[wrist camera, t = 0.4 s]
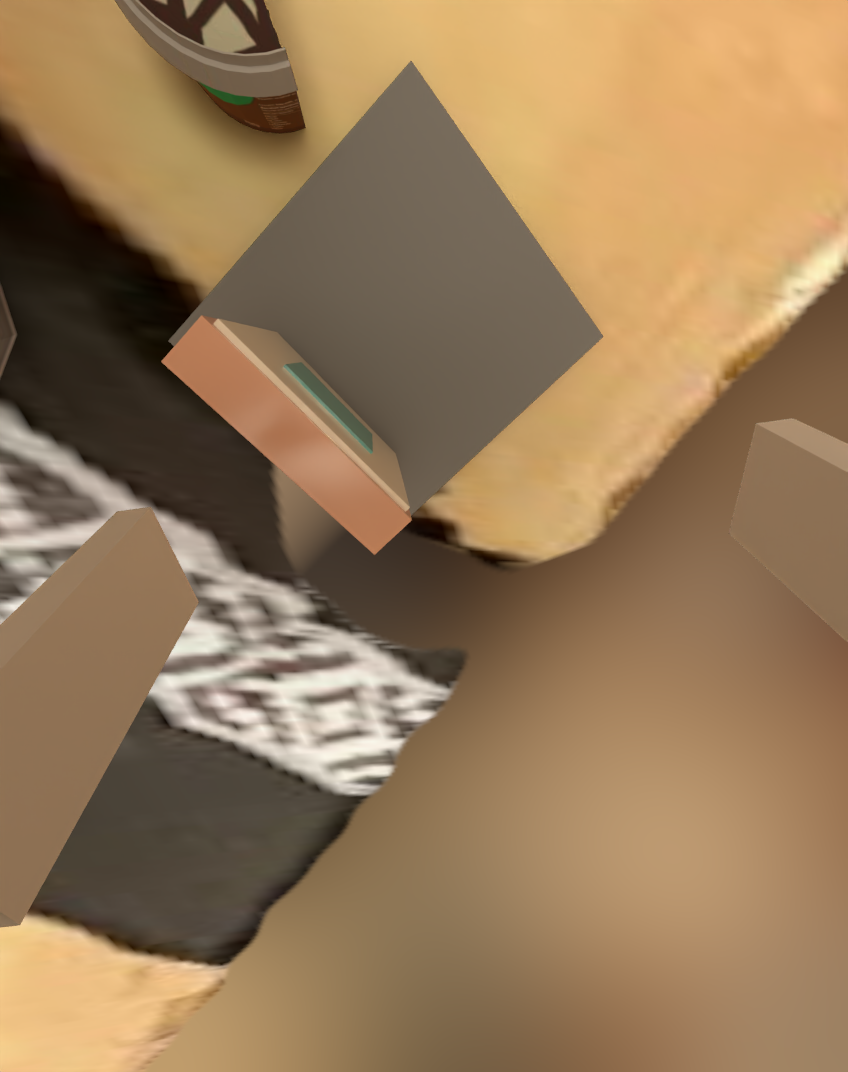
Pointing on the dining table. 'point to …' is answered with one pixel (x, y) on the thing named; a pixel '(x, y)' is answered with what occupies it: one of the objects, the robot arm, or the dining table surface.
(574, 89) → the dining table surface
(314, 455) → the tile
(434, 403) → the mat
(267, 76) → the food container
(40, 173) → the dining table surface
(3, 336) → the can
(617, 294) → the dining table surface
